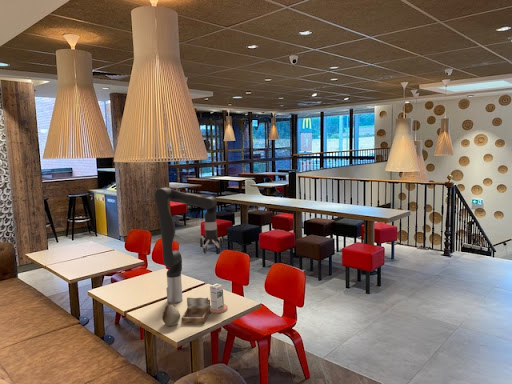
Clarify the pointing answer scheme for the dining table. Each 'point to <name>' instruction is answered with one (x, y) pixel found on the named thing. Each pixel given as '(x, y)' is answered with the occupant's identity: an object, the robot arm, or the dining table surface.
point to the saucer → (219, 309)
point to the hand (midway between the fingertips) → (212, 253)
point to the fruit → (170, 315)
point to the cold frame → (196, 310)
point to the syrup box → (216, 296)
